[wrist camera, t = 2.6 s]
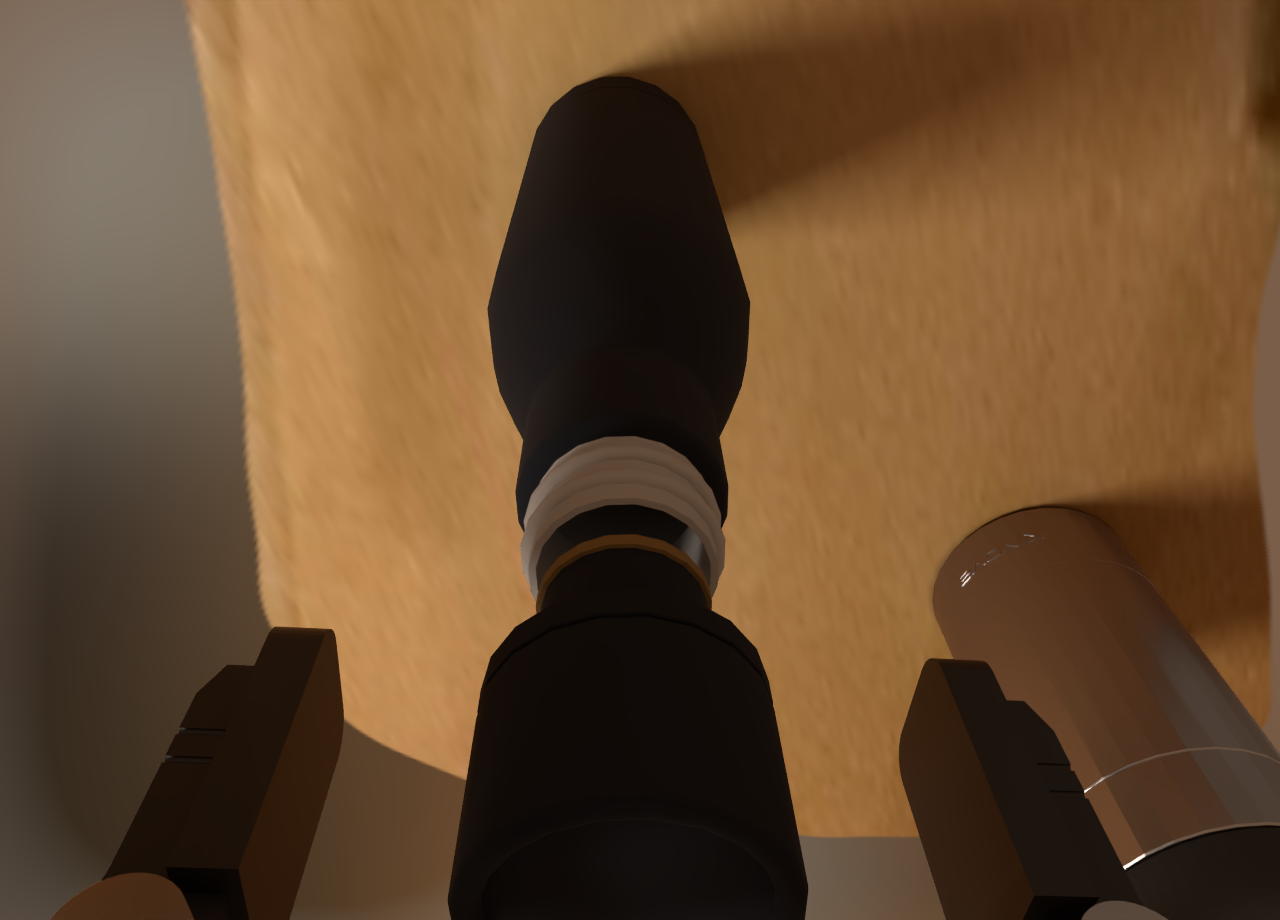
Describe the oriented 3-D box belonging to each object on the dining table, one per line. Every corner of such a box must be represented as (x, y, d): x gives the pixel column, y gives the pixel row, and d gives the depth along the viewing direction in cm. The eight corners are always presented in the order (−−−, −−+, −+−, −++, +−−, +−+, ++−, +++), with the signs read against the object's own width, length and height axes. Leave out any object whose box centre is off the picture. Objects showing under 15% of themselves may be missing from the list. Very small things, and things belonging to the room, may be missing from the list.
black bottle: (573, 42, 33) (446, 616, 8) (734, 125, 35) (1062, 824, 10) (503, 207, 36) (251, 1010, 11) (655, 276, 38) (744, 1119, 12)
